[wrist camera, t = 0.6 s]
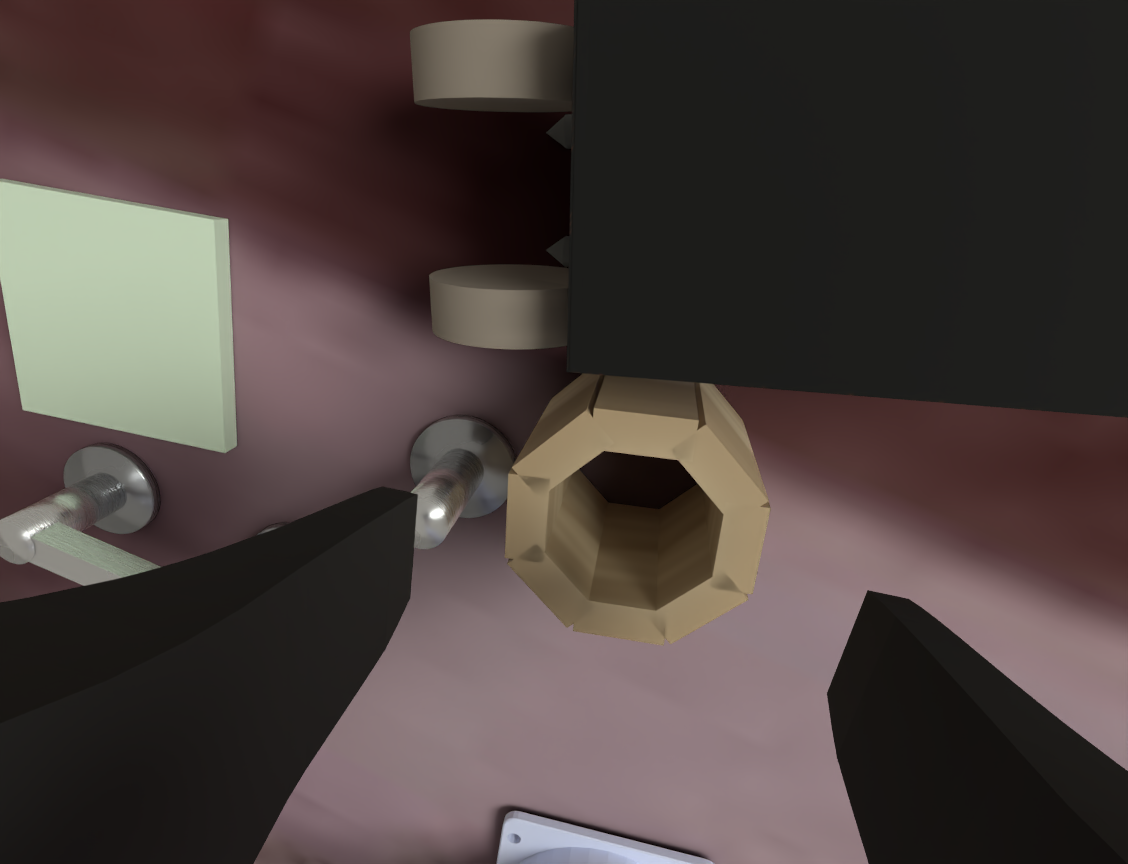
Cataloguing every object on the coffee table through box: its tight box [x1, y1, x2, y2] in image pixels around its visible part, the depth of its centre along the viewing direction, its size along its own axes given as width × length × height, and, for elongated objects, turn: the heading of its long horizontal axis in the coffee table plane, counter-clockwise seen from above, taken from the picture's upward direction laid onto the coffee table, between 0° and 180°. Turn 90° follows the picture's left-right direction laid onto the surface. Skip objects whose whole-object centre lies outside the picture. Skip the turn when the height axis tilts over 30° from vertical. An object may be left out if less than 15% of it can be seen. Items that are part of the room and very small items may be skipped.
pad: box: [0, 179, 237, 453], centre depth 19 cm, size 7×7×1 cm
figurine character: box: [410, 0, 1128, 418], centre depth 13 cm, size 7×8×15 cm
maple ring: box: [505, 373, 770, 645], centre depth 16 cm, size 6×6×5 cm
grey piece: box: [0, 415, 516, 586], centre depth 19 cm, size 8×15×4 cm, turn 81°
